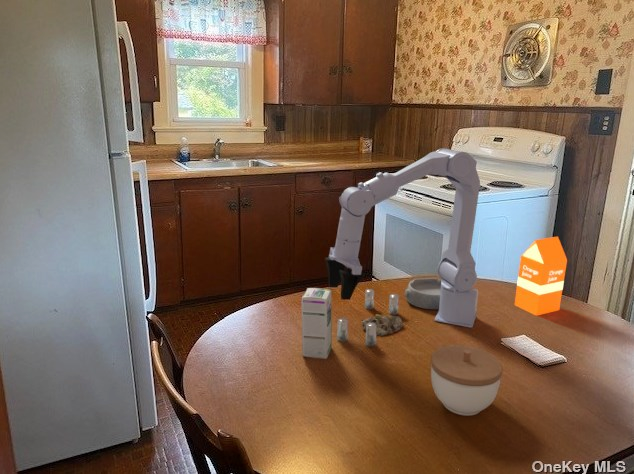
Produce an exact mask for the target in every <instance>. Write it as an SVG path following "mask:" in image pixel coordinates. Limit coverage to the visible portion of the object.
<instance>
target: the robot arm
mask: <svg viewBox="0 0 634 474" xmlns="http://www.w3.org/2000/svg"><path fill="white" fill-rule="evenodd" d="M429 175H436V176H441V177H444V178H446V179H447V181H449V182H450V183H451V185H452V186H453V187H455V193H454V200H453V201H454V203H453V208H452V210H453V211H452V218H451V224H450V233H449V239H448V245H447V247H448V248H447V249H446V250H444V251H443V252H442V254H441V255H442V256H441V259H440V261H439V263H438V264H437V268H436V270H437V271H436V272H437V274H438V277H440V279H441V292H440V304H439V309H438V311H437V312H436V313H437V314H436V316H435V317H434V322H440V323H445V324H450V325H454V326H455V325H456V326H460V327H466V328H474V327H473V326H474V324H475V321H476V318H477V315H478V310H477V309H478V299H479V290H478V289H475V288H474V287H475V285H476V283H477V280H478V275H477V271H476V261H475V259H474V257H473V255H472V252H471V251H472V244H473V243H472V242H473V235H474V229H475V222H476V216H477V215H476V214H477V208H478V203H479V201H478V200H479V194H480V187H481V182H480V181H481V180H480V177H479V174H478V171H477V160H476V159H475V158H474V157H473V156H472V155H471V154H470V153H468V152H466V151H458V150H453V149H449V148H446V147H442V148H439V149H437V150H436V151H432V152H429V153H428V154H426V155H425V156H424V157H422V158H420V159H419V160H418V159H417V161H415V162H413V163H411V164H408V165H407V166H405V167H404V168H402V169H400V170H398V171H396V172H395V173H393V174H391V173H389V172H384V173H383V172H380V171H379V172H377V173H375V177H373V178H372V179H369V180H367V181H365V182H359V183H357V187H356V186H349V187H347V188H346V189H344V190H343V192H342V193H341V196H339V197H338V200H339V205H340V206H341V210H340V211H341V212H340V217H339V221H338V227H337V234H336V239H335V245H334V247H331V246H330V247H329V248H330V249H329V254H328V257H325V258H324V262H325V264H326V268H327V275H328V286H329V288H338V287H339V285H340V284H341V287H340V298H341V300H351V298H352V297H353V294H354V291H355V290H356V287H357V286H358V284H359V283H360V282H361V281H362V279H364V277H365V273H364V272H362V271H363V266H362V265H361V264H360V259H359V258H358V257H359V252H360V248H361V241H362V235H363V230H364V224H365V220H366V219H365V218H366V215H367V214H368V213H369V212H370V211H371V209H372V207H374V206H376V205H377V204H380V203H382V202H384V201H386V200H388V199H390V198H392V197H394V196H396V195H397V193H398V192H399V189H400V188H401V187H404V186H405V185H408V184H410V183H412V182H414V181H417V180H419V179H422V178H424V177H427V176H429ZM345 268H347V269H345Z"/></svg>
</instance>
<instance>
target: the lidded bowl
mask: <svg viewBox="0 0 634 474" xmlns="http://www.w3.org/2000/svg"><path fill="white" fill-rule="evenodd" d="M430 364H431V365H430V366H431V367H430V368H431V369H430V378H431V379H430V381H431V385H432V389H433V392H434V393H435V396H436V397H437V399H438V400H439V401H440V402H441V403H442V404H443V406H444V408H445V409H447V410H448V411H449V412H451V413H454V414H456V415H459V416H463V417H466V416H468V417H469V416H474V415H477V414H479V413H481V411H484V410H485V409H487V408H488V407H490V405H492V403H493V402H494V400H495V399H496V396H497V395H498V392H499V388H500V385H501V384H500V383H501V377H502V376H503V365H502V363H501V361H500V360H499V359H498V358H497V357H496V356H495V355H493V354H492V353H490V352H488V351H486V350H484V349H482V348H478V347H475V346H470V345H464V344H463V345H462V344H449V345H444V346H441V347H439V348H437V349H435V350H434V351H433V352H432V354H431V358H430Z"/></svg>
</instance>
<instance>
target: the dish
mask: <svg viewBox="0 0 634 474" xmlns="http://www.w3.org/2000/svg"><path fill="white" fill-rule="evenodd" d="M440 292H441V278H437V277H426V278H423V277H422V278H414V279H413V280H410V281H409V282H408V285H407V287H406V289H405V290H404V297H405V298H406V301H407V302H408V303H409V304H410V305H413V306H414V307H418V308H422V309H426V310H439V304H440Z"/></svg>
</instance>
